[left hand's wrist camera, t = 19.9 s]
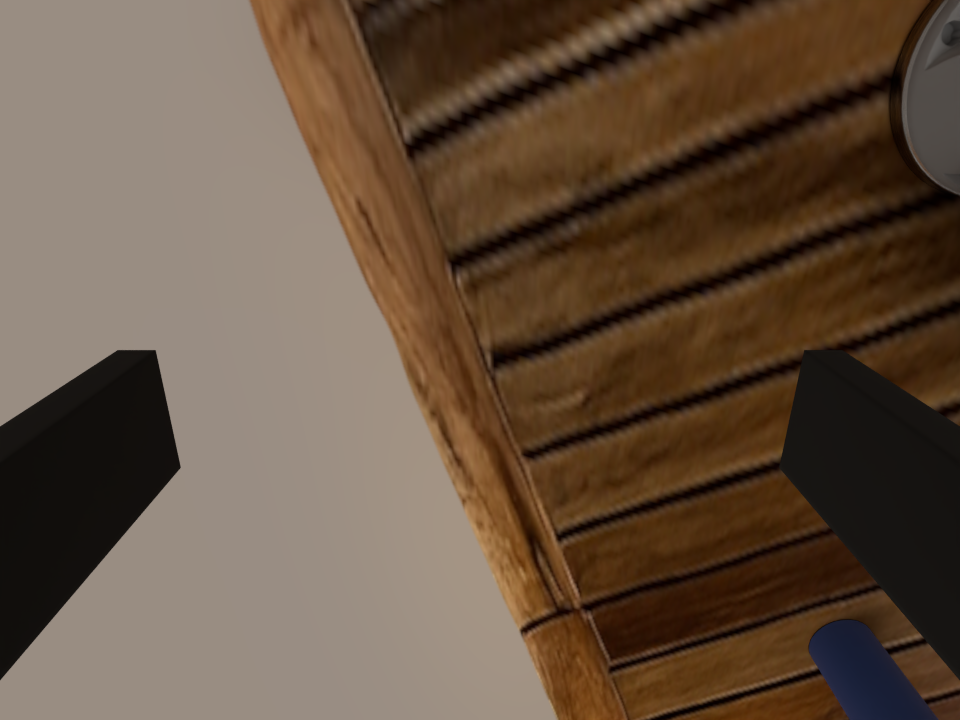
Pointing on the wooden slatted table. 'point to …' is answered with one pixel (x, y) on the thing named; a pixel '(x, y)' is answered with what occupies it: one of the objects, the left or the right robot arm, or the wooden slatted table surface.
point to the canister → (865, 674)
